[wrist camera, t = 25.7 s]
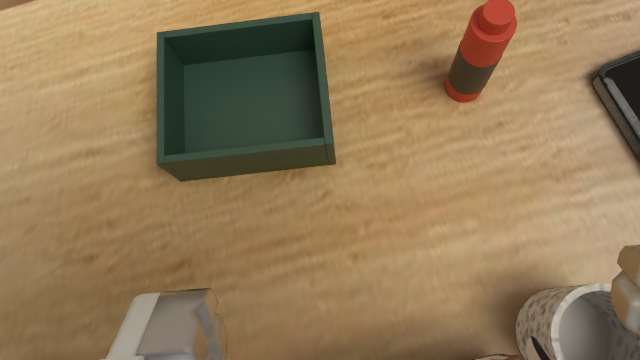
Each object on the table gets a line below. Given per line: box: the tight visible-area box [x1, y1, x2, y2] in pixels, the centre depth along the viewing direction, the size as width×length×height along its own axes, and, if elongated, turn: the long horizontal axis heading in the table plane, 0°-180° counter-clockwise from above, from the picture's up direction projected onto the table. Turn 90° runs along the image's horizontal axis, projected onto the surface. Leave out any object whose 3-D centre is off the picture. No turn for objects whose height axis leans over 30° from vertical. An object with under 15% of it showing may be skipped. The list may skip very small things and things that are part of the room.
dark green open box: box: [157, 12, 336, 181], centre depth 39 cm, size 13×11×5 cm
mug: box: [515, 283, 640, 360], centre depth 31 cm, size 10×7×7 cm, turn 58°
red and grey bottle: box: [446, 0, 517, 102], centre depth 35 cm, size 3×3×10 cm
